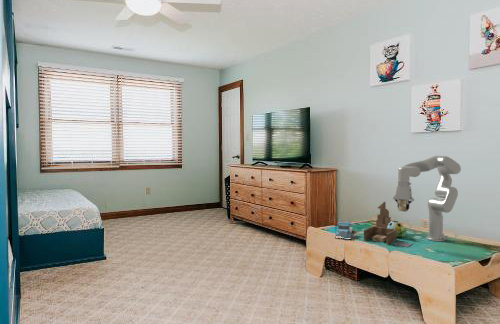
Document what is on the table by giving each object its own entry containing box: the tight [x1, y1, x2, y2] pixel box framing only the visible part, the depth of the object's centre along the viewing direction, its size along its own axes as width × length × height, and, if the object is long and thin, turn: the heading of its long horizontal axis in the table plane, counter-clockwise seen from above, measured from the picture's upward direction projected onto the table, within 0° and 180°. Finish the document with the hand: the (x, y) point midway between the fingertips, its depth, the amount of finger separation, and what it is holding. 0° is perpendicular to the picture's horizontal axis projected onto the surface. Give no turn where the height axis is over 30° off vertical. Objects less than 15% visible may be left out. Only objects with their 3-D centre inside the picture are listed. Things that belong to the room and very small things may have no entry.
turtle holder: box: [387, 220, 407, 238], centre depth 282 cm, size 12×18×12 cm
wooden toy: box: [375, 201, 393, 228], centre depth 300 cm, size 16×7×25 cm, turn 40°
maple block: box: [398, 200, 409, 213], centre depth 260 cm, size 5×5×8 cm
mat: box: [392, 241, 413, 248], centre depth 261 cm, size 10×10×1 cm
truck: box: [334, 217, 354, 240], centre depth 290 cm, size 12×29×15 cm, turn 162°
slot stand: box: [363, 225, 398, 246], centre depth 273 cm, size 18×17×8 cm
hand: (403, 208), depth 260 cm, fingers closed on maple block, 5 cm apart
